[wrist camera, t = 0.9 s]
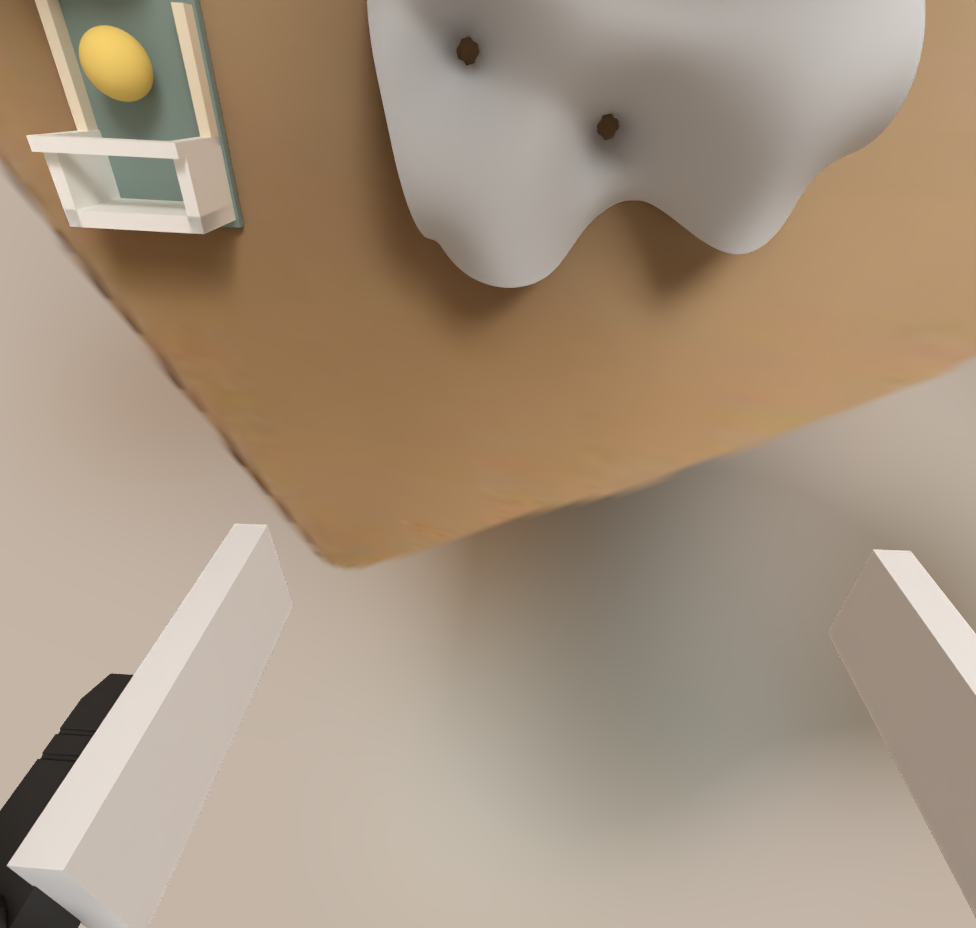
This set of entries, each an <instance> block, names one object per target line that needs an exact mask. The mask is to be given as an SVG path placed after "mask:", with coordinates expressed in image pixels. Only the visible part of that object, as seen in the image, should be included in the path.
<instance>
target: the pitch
mask: <svg viewBox="0 0 976 928" xmlns="http://www.w3.org/2000/svg"><path fill="white" fill-rule="evenodd" d="M35 3H36V6H37V9H38V12H39V15H40V18H41V21H42V24H43V27H44V30H45V33H46V36H47V39H48V42H49V45H50V48H51V51H52V54H53V58H54V61H55V64H56V67H57V70H58V73H59V76H60V79H61V82H62V85H63V88H64V91H65V94H66V97H67V100H68V103H69V106H70V109H71V112H72V116H73V119H74V122H75V125H76V128H77V131H94V130H100V132H101V135H102V138H117V139H137V140H157V141H173V140H179V139H186V138H193V137H216V136H218V138H219V140H220V142H219V145H221V150H222V155H223V159H224V164H225V169H226V174H227V179H228V184H229V189H230V194H231V199H232V203H233V208H234V213H235V218H236V220H234V221H232V222H230V223H228V224H226V225H223V226H221V227H236V228H241V227H243V226H244V224H243V219H242V214H241V209H240V204H239V199H238V193H237V188H236V183H235V178H234V173H233V168H232V163H231V158H230V153H229V148H228V143H227V138H226V133H225V128H224V123H223V118H222V113H221V108H220V103H219V97H218V92H217V87H216V82H215V77H214V72H213V67H212V62H211V57H210V52H209V47H208V42H207V37H206V32H205V27H204V22H203V17H202V12H201V6H200V1H199V0H35ZM100 25H108V26H113V27H116V28H119V29H121V30H123V31H125V32H127V33H128V34H130V35H131V36H132V37H134V38H135V39H136V40H137V41H138V42H139V43H140V44H141V46H142V47H143V48H144V50H145V51H146V53H147V54H148V56H149V58H150V61H151V64H152V68H153V84H152V87H151V89H150V91H149V92H148V94H147V95H146V96H145V97H143V98H142V99H140V100H137V101H133V102H124V101H119V100H116V99H113V98H111V97H109V96H107V95H105V94H104V93H102V92H101V91H100V90H99V89H97V88H96V87H95V86H94V85H93V84H92V83H91V81H90V80H89V79H88V77H87V76H86V74H85V72H84V70H83V68H82V65H81V62H80V58H79V44H80V41H81V38H82V37H83V35H84V34H85V33H86V32H87V31H88V30H89V29H91V28H93V27H96V26H100ZM108 158H109V161H110V164H111V168H112V171H113V174H114V177H115V181H116V184H117V187H118V190H119V194H120V197H121V198H128V199H147V200H165V201H183V197H182V193H181V189H180V185H179V181H178V177H177V173H176V169H175V165H174V161H173V159H167V158H147V157H128V156H108Z"/></svg>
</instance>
